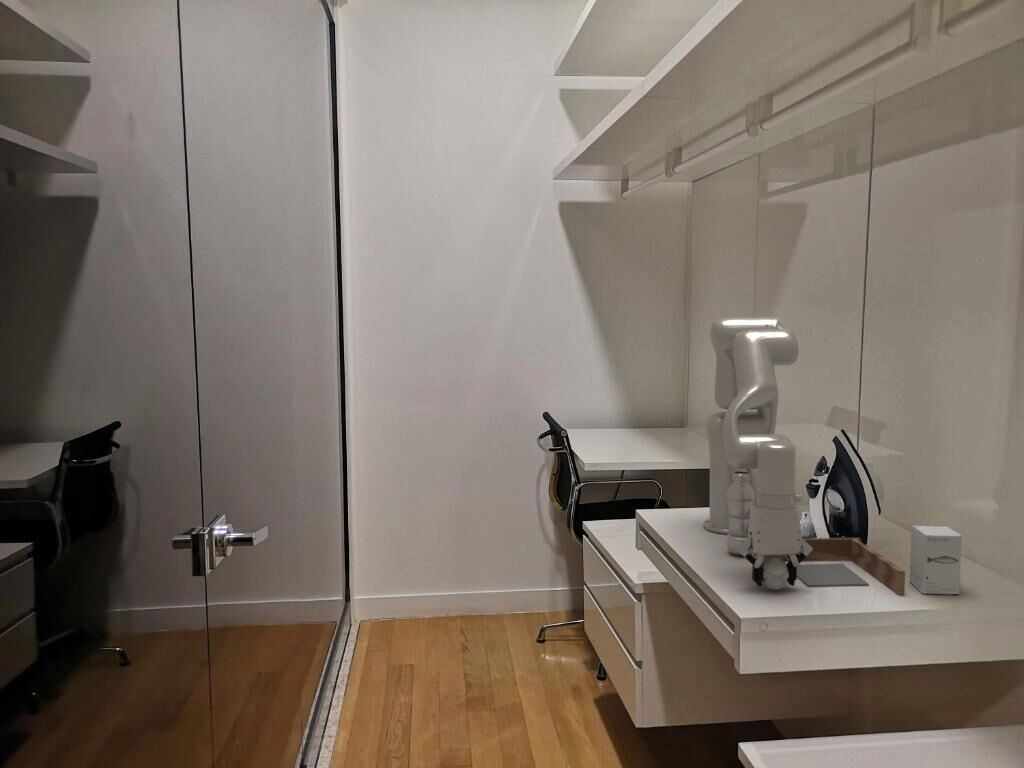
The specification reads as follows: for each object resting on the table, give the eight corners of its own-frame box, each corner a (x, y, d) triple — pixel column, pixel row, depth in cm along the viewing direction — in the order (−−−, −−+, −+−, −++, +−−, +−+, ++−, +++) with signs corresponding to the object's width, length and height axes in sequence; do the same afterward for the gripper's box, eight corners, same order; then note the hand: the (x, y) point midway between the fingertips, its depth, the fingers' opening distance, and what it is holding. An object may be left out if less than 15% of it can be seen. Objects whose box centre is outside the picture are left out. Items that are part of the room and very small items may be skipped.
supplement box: (921, 594, 158) (923, 534, 157) (908, 582, 166) (910, 524, 164) (960, 596, 157) (962, 535, 156) (945, 583, 165) (947, 525, 163)
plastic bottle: (756, 559, 183) (757, 475, 181) (727, 557, 184) (727, 475, 182) (754, 550, 189) (754, 470, 187) (725, 549, 190) (725, 469, 188)
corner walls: (763, 560, 182) (763, 539, 181) (858, 558, 182) (858, 537, 181) (800, 597, 158) (800, 573, 158) (909, 594, 158) (910, 571, 158)
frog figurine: (784, 582, 166) (785, 551, 165) (792, 595, 159) (793, 562, 158) (755, 582, 167) (756, 550, 166) (762, 594, 160) (763, 561, 159)
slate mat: (785, 566, 177) (785, 564, 177) (842, 565, 177) (842, 563, 177) (807, 586, 164) (807, 585, 164) (868, 585, 164) (868, 583, 164)
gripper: (810, 495, 165) (808, 576, 166) (729, 496, 165) (728, 578, 166) (824, 504, 157) (822, 589, 159) (739, 506, 157) (738, 591, 159)
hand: (774, 583), depth 163 cm, fingers closed on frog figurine, 6 cm apart
